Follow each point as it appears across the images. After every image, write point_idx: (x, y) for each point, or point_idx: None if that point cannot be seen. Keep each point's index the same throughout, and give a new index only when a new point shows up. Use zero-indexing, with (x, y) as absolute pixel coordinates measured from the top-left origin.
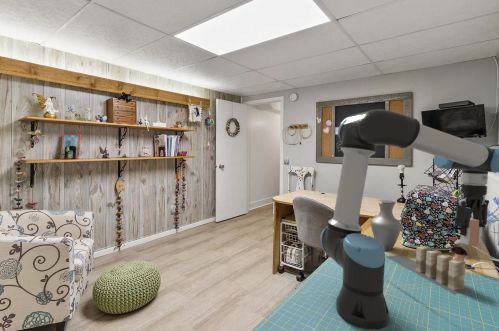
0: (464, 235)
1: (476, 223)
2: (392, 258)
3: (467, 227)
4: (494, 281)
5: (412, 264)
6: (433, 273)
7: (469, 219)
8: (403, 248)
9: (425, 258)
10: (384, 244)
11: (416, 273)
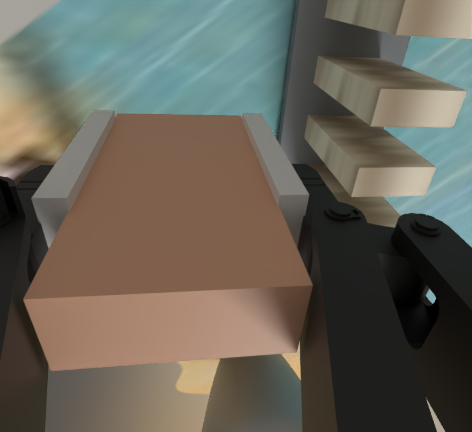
0: (306, 165)
1: (118, 250)
2: None
3: (324, 205)
4: (44, 12)
5: None
6: (355, 121)
7: (343, 303)
8: None
9: (350, 196)
10: (280, 354)
11: None
